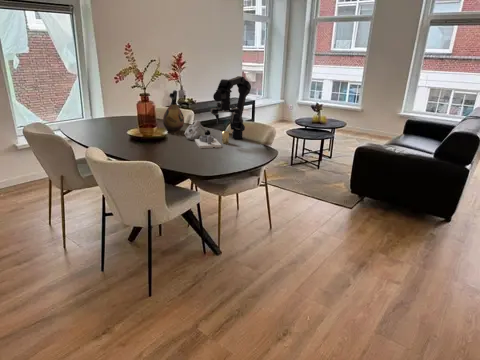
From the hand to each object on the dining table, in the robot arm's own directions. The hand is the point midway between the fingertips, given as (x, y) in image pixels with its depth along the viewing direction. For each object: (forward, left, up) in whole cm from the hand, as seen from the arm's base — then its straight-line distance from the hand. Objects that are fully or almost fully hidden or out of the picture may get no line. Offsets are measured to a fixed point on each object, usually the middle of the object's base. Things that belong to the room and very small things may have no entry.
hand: (225, 124), depth 224 cm
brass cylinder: (0, 0, -13) cm, 13 cm away
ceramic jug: (+29, -41, -13) cm, 52 cm away
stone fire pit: (+12, 0, -13) cm, 17 cm away
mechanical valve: (+14, -19, -13) cm, 27 cm away
